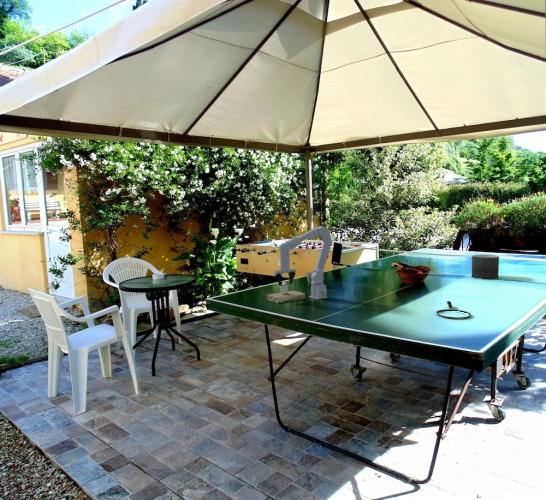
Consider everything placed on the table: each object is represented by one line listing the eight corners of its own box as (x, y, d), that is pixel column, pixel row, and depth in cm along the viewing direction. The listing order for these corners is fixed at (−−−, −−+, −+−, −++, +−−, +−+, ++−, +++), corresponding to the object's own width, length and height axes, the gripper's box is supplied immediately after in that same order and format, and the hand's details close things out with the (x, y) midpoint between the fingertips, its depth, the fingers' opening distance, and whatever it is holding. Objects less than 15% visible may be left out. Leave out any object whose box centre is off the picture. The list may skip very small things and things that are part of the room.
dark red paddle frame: (431, 306, 245) (432, 300, 244) (463, 306, 241) (463, 300, 240) (438, 319, 218) (438, 312, 217) (473, 320, 214) (474, 314, 213)
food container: (303, 286, 308) (303, 272, 307) (306, 285, 314) (306, 271, 313) (319, 287, 303) (319, 273, 302) (323, 286, 308) (322, 272, 307)
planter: (466, 276, 329) (466, 255, 328) (485, 274, 335) (486, 254, 333) (484, 280, 312) (484, 258, 311) (504, 278, 318) (504, 256, 316)
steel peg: (289, 299, 271) (288, 283, 270) (284, 299, 270) (284, 283, 268) (286, 298, 274) (286, 282, 272) (282, 298, 272) (282, 282, 271)
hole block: (304, 298, 271) (304, 293, 271) (276, 303, 261) (276, 298, 261) (294, 295, 282) (294, 290, 281) (267, 299, 272) (266, 294, 271)
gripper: (291, 261, 276) (292, 282, 277) (271, 263, 269) (272, 285, 270) (297, 262, 270) (298, 284, 271) (277, 264, 263) (278, 287, 264)
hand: (285, 284), depth 270 cm, fingers open, 7 cm apart
